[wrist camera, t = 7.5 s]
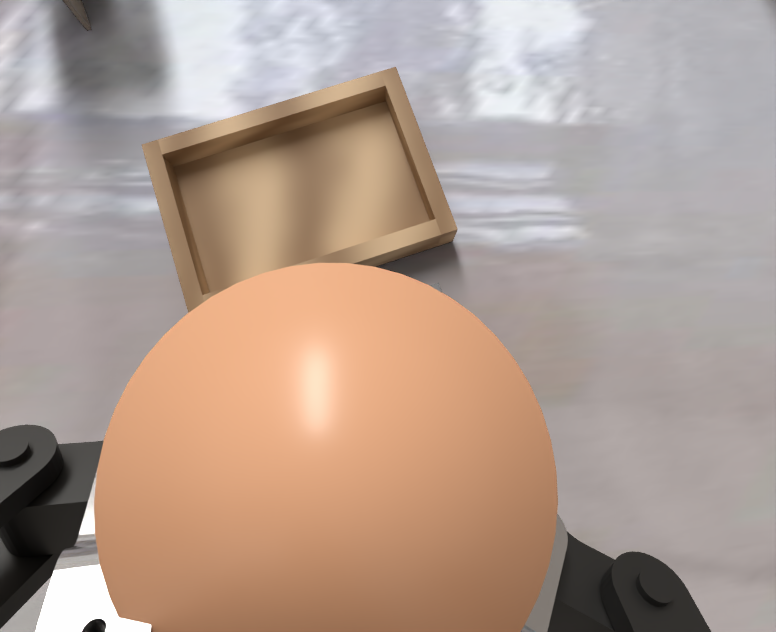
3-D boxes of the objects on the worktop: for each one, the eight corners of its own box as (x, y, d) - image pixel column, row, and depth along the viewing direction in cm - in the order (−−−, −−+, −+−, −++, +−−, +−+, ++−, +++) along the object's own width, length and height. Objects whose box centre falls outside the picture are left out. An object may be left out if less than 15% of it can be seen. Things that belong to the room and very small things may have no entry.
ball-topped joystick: (307, 542, 16) (159, 825, 5) (259, 378, 17) (49, 341, 6) (468, 484, 17) (630, 644, 6) (413, 327, 17) (464, 208, 7)
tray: (204, 323, 30) (189, 317, 28) (158, 162, 32) (141, 144, 30) (452, 241, 31) (457, 229, 29) (395, 88, 33) (395, 66, 30)
